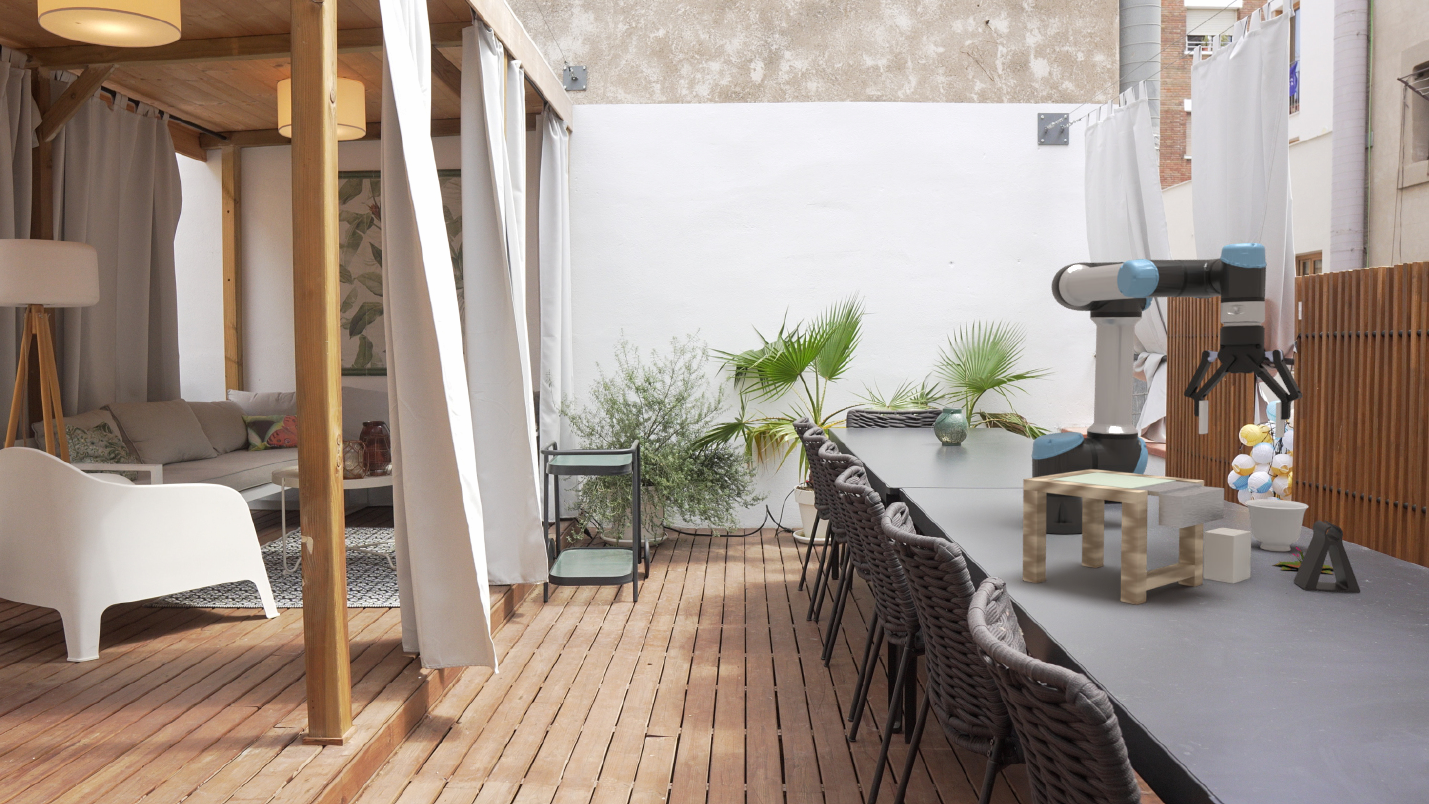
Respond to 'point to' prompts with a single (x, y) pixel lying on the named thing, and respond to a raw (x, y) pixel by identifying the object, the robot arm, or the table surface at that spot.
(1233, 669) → the table surface
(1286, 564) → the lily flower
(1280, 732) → the table surface
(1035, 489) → the trapdoor frame
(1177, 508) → the trapdoor
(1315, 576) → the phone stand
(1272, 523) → the teacup
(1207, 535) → the white rectangular block
